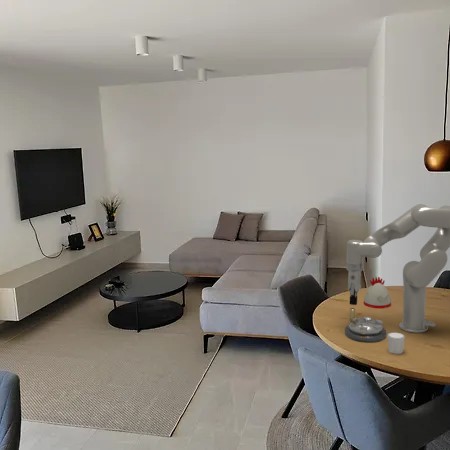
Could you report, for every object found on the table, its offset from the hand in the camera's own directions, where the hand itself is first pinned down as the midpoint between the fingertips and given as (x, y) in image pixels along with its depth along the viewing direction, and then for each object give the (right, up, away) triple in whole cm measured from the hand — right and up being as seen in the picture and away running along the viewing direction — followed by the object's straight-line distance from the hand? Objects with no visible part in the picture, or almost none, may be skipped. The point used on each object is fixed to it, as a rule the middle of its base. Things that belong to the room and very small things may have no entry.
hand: (353, 304), depth 228 cm
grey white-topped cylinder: (+11, -16, -25) cm, 32 cm away
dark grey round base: (+4, -13, -7) cm, 15 cm away
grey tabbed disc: (+3, -10, -8) cm, 13 cm away
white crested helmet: (+21, -5, +31) cm, 38 cm away
